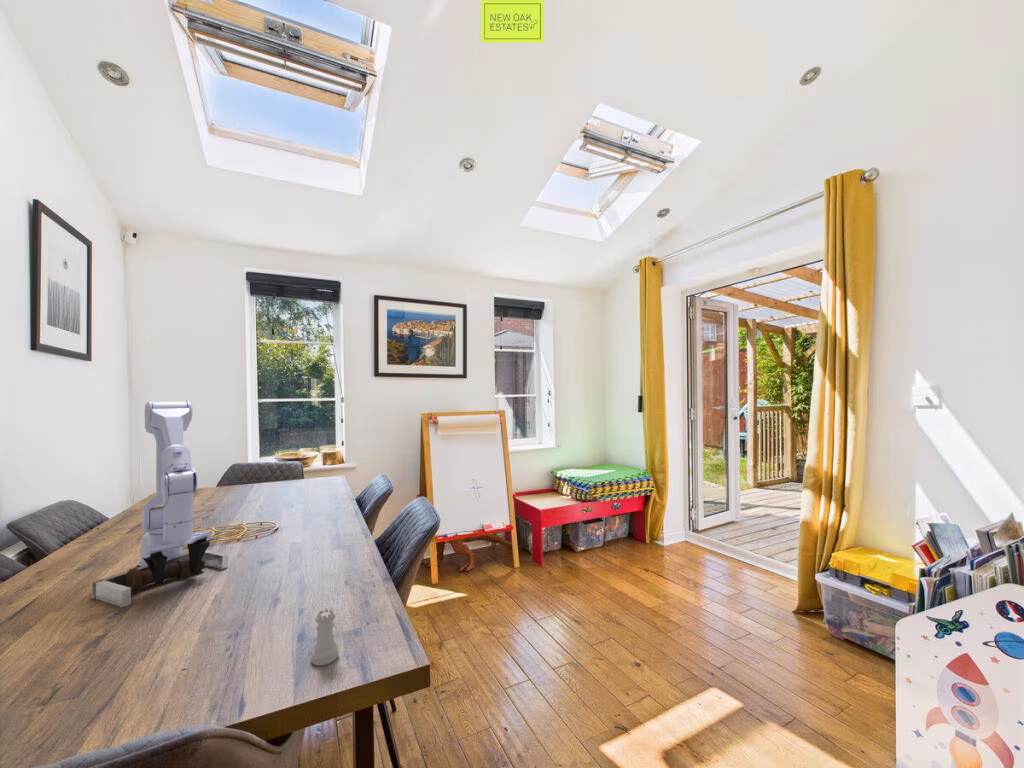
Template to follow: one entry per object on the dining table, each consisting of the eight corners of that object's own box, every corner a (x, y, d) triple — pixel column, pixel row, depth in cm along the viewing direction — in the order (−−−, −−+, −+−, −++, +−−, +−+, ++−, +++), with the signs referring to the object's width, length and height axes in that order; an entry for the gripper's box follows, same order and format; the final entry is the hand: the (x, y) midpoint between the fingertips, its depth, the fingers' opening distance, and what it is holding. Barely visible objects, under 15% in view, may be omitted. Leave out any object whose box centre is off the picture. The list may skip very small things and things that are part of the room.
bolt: (203, 578, 111) (129, 599, 98) (196, 565, 113) (123, 584, 100) (210, 561, 109) (135, 580, 97) (202, 547, 112) (129, 564, 99)
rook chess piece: (316, 651, 76) (316, 606, 76) (342, 650, 76) (342, 605, 76) (306, 667, 71) (307, 619, 72) (333, 666, 72) (334, 618, 72)
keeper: (92, 597, 96) (92, 582, 96) (199, 561, 117) (199, 548, 117) (122, 607, 91) (122, 590, 92) (227, 567, 113) (228, 554, 113)
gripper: (154, 531, 95) (152, 593, 95) (219, 514, 108) (218, 568, 108) (135, 528, 97) (133, 587, 97) (201, 512, 111) (200, 564, 111)
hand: (177, 577), depth 103 cm, fingers open, 7 cm apart
